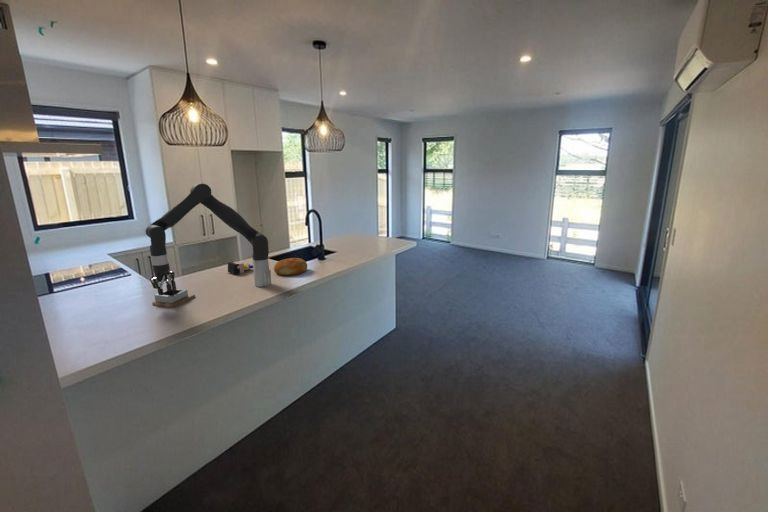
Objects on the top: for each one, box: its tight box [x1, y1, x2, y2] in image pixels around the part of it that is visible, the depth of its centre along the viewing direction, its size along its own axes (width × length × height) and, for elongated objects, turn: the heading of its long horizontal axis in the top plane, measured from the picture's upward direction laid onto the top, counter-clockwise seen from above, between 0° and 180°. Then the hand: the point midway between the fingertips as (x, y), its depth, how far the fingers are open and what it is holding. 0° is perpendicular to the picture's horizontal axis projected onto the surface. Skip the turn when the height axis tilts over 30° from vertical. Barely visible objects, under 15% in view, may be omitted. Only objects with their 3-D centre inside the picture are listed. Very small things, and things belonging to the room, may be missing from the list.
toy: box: [227, 261, 253, 275], centre depth 245 cm, size 12×7×15 cm
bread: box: [273, 257, 308, 276], centre depth 246 cm, size 23×23×10 cm
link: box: [154, 288, 189, 304], centre depth 189 cm, size 11×11×4 cm
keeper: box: [151, 280, 196, 308], centre depth 190 cm, size 14×15×12 cm
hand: (165, 293), depth 185 cm, fingers open, 5 cm apart
